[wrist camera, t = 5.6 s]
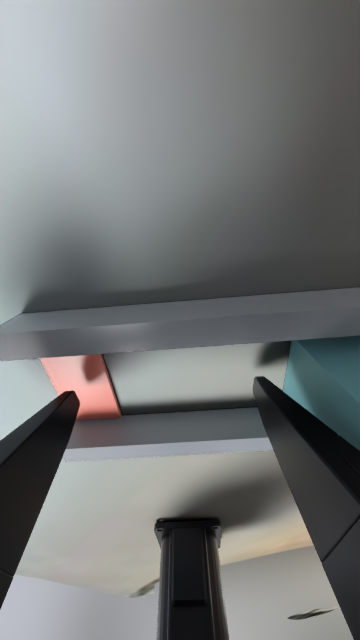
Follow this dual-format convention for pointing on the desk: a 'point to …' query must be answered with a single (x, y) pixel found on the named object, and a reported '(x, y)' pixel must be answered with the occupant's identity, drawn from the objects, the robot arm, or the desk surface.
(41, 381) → the desk surface
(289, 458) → the robot arm
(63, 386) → the channel
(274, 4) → the desk surface
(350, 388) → the teal block
